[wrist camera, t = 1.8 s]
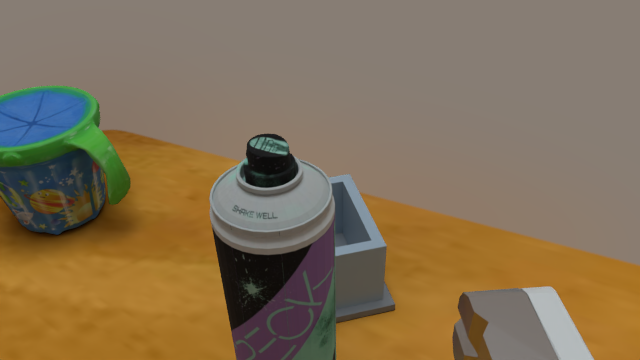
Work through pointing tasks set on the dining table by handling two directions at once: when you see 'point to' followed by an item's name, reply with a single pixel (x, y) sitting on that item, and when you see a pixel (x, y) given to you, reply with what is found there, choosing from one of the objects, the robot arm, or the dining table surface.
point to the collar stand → (357, 256)
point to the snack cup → (56, 158)
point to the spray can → (277, 254)
